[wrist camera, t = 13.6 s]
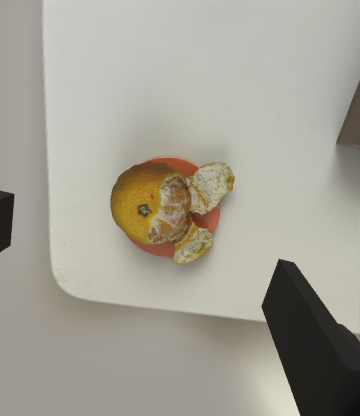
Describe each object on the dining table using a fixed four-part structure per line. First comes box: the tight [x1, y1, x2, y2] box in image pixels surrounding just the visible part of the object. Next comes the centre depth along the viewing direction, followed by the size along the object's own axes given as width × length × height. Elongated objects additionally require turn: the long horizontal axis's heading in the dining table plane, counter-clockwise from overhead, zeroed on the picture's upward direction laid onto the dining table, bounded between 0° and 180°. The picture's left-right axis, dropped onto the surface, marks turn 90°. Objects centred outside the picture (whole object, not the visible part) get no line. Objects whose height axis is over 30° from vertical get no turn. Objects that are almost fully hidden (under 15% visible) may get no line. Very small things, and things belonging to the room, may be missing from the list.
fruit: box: [110, 162, 235, 265], centre depth 21 cm, size 8×8×4 cm
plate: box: [125, 156, 220, 257], centre depth 23 cm, size 8×8×1 cm
